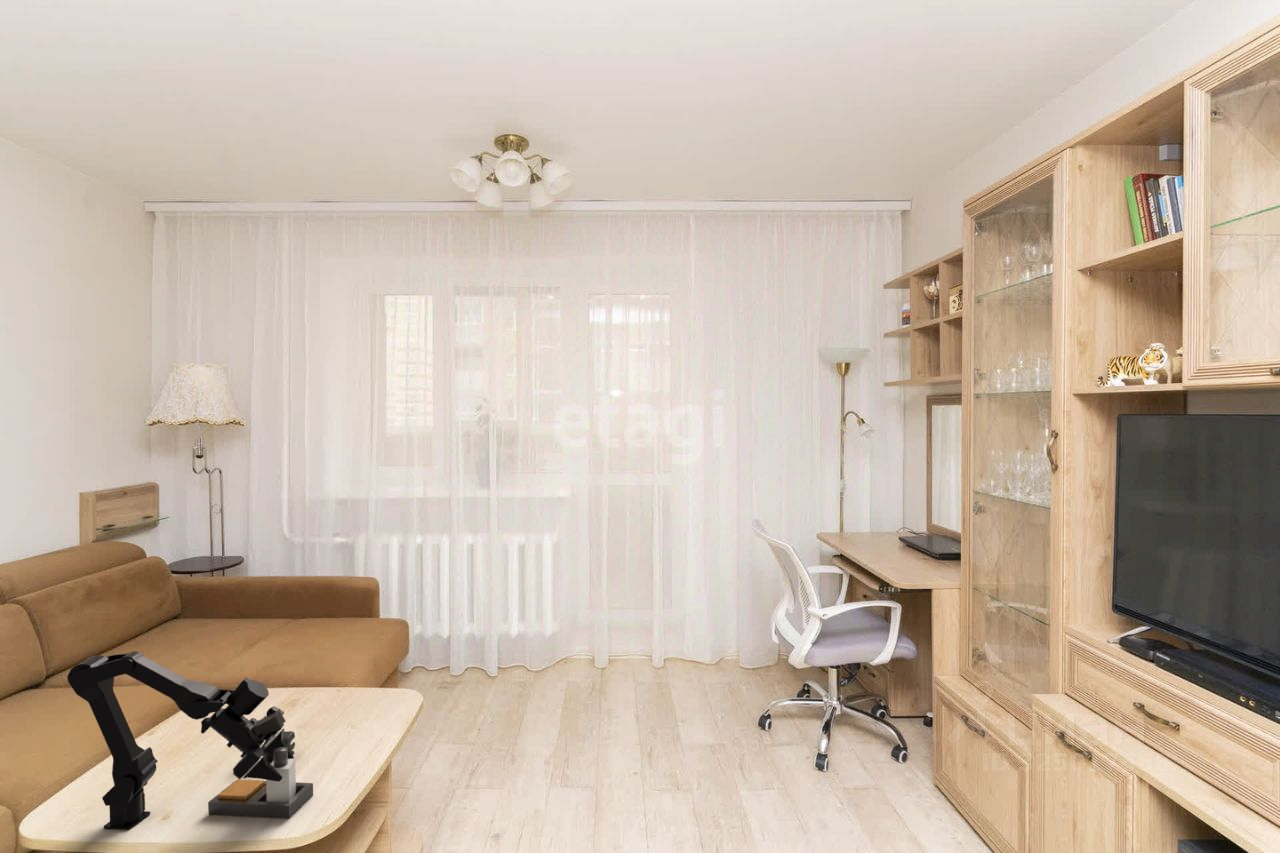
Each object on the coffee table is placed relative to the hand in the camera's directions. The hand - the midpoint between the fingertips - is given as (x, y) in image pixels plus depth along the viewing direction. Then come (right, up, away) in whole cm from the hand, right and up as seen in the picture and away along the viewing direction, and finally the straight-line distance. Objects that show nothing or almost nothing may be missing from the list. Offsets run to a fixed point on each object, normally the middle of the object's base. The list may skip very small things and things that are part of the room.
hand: (287, 769), depth 169 cm
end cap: (-15, -9, +22) cm, 28 cm away
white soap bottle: (-1, -8, 0) cm, 8 cm away
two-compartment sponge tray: (-6, -9, 0) cm, 11 cm away
